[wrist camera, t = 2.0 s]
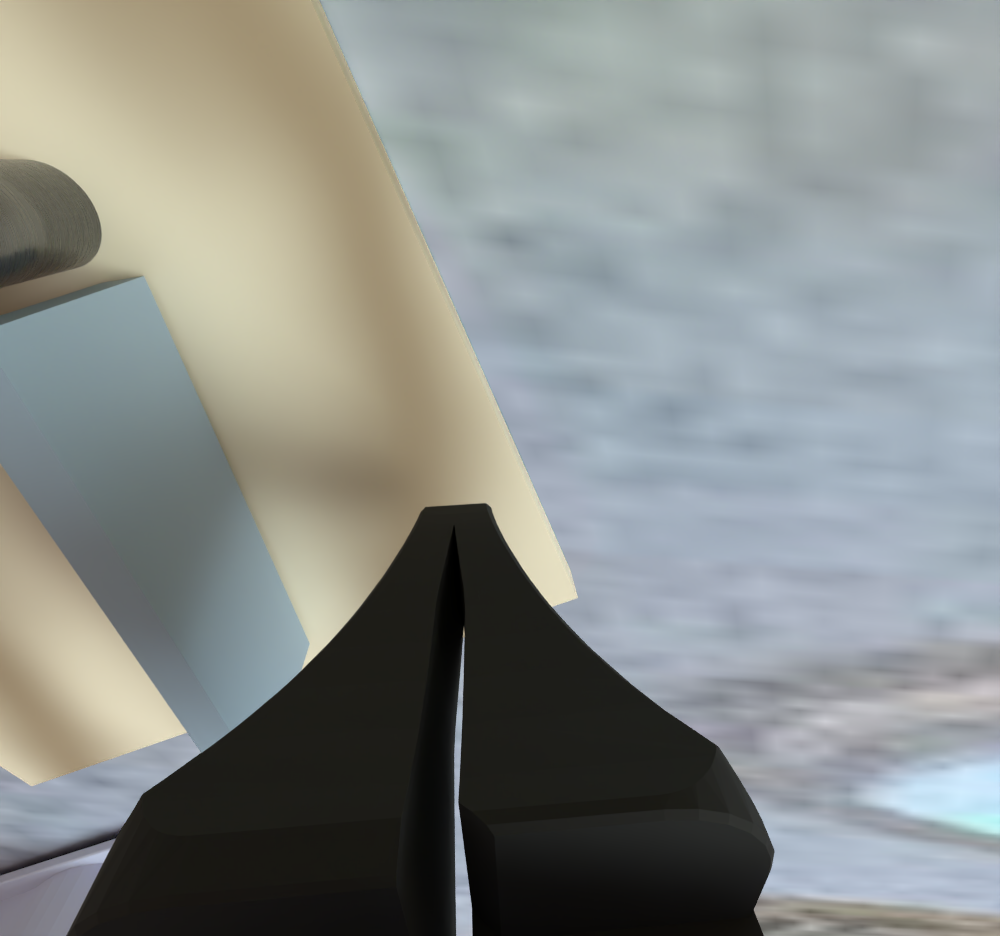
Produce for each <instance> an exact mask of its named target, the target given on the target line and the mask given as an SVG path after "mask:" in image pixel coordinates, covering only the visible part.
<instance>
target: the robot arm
mask: <svg viewBox="0 0 1000 936" xmlns="http://www.w3.org/2000/svg"><path fill="white" fill-rule="evenodd" d="M463 631H464V632H465V647H464V689H463V720H462V743H461V764H460V784H459V802H458V803H459V810H460V818H461V826H462V833H463V841H464V849H465V857H466V864H467V872H468V880H469V887H470V895H471V903H472V927H473V936H764V935H763V933H762V930H761V928H760V925H759V923H758V920H757V918H756V915H755V913H754V907H755V905H756V903H757V900H758V898H759V896H760V894H761V891H762V889H763V887H764V884H765V882H766V880H767V878H768V875H769V873H770V870H771V867H772V862H773V857H774V849H773V846H772V843H771V841H770V838H769V836H768V833H767V831H766V829H765V826H764V824H763V821H762V819H761V817H760V815H759V813H758V811H757V809H756V807H755V805H754V803H753V802H752V800H751V798H750V796H749V795H748V793H747V791H746V790H745V788H744V786H743V785H742V783H741V781H740V780H739V778H738V776H737V775H736V773H735V772H734V770H733V768H732V767H731V765H730V764H729V762H728V761H727V759H726V757H725V756H724V754H723V753H722V751H721V750H720V748H719V747H718V746H717V745H715V744H714V743H712V742H711V741H709V740H708V739H706V738H705V737H703V736H702V735H700V734H699V733H697V732H696V731H695V730H693V729H692V728H690V727H689V726H687V725H686V724H684V723H683V722H681V721H680V720H678V719H677V718H675V717H674V716H672V715H671V714H669V713H668V712H666V711H665V710H664V709H662V708H661V707H660V706H658V705H657V704H656V703H654V702H653V701H652V700H651V699H649V698H648V697H647V696H646V695H644V694H643V693H642V692H640V691H639V690H638V689H637V688H635V687H634V686H633V685H631V684H630V683H629V682H628V681H627V680H626V679H625V678H623V677H622V676H621V675H620V674H619V673H618V672H617V671H616V670H614V669H613V668H612V667H611V666H610V665H609V664H608V663H606V662H605V661H604V660H603V659H602V658H601V657H600V656H599V655H597V654H596V653H595V652H594V651H593V650H592V649H591V648H590V647H589V646H588V645H587V644H586V643H585V642H584V641H583V640H582V639H581V638H580V637H579V636H578V635H577V634H576V633H575V632H574V631H573V630H572V629H571V628H570V627H569V626H568V625H567V624H566V622H565V621H564V620H563V619H562V618H561V617H560V616H559V615H558V614H557V612H556V611H555V610H554V609H553V608H552V607H551V605H550V604H549V603H548V602H547V601H546V599H545V598H544V597H543V596H542V594H541V593H540V592H539V590H538V589H537V588H536V586H535V585H534V584H533V582H532V581H531V580H530V578H529V577H528V575H527V574H526V573H525V571H524V570H523V568H522V567H521V565H520V563H519V562H518V560H517V559H516V557H515V556H514V554H513V552H512V551H511V549H510V548H509V546H508V544H507V542H506V541H505V539H504V537H503V535H502V533H501V531H500V529H499V527H498V525H497V523H496V520H495V518H494V515H493V512H492V508H491V507H490V506H489V505H488V504H486V503H478V504H462V505H447V506H431V507H425V508H424V509H423V510H422V511H421V512H420V514H419V517H418V519H417V521H416V523H415V525H414V527H413V528H412V530H411V532H410V534H409V536H408V537H407V539H406V541H405V542H404V544H403V546H402V548H401V549H400V551H399V552H398V554H397V555H396V557H395V558H394V560H393V562H392V563H391V565H390V566H389V568H388V569H387V571H386V572H385V574H384V575H383V577H382V578H381V579H380V581H379V582H378V583H377V585H376V586H375V587H374V589H373V590H372V592H371V593H370V594H369V596H368V597H367V598H366V600H365V601H364V602H363V604H362V605H361V606H360V607H359V609H358V610H357V611H356V612H355V614H354V615H353V616H352V617H351V618H350V620H349V621H348V622H347V623H346V624H345V625H344V627H343V628H342V629H341V630H340V631H339V632H338V633H337V634H336V635H335V637H334V638H333V639H332V640H331V641H330V642H329V643H328V644H327V645H326V646H325V647H324V648H323V649H322V650H321V651H320V652H319V653H318V654H317V655H316V656H315V657H314V658H313V659H312V660H311V661H310V662H309V663H308V664H307V665H306V666H305V667H304V668H303V669H302V670H301V671H300V672H299V673H298V674H297V675H296V676H295V677H294V678H293V679H292V680H291V681H290V682H289V683H288V684H286V685H285V686H284V687H283V688H282V689H281V690H280V691H279V692H278V693H276V694H275V695H274V696H273V697H272V698H270V699H269V700H268V701H267V702H266V703H264V704H263V705H262V706H261V707H260V708H259V709H257V710H256V711H255V712H254V713H253V714H251V715H250V716H249V717H248V718H247V719H245V720H244V721H243V722H242V723H240V724H239V725H238V726H237V727H235V728H234V729H233V730H232V731H230V732H229V733H228V734H226V735H225V736H224V737H222V738H221V739H220V740H218V741H217V742H216V743H214V744H213V745H212V746H210V747H209V748H207V749H206V750H205V751H203V752H202V753H200V754H199V755H198V756H196V757H195V758H193V759H192V760H191V761H189V762H188V763H186V764H185V765H184V766H182V767H181V768H179V769H178V770H177V771H175V772H174V773H172V774H171V775H170V776H168V777H167V778H165V779H164V780H163V781H161V782H160V783H158V784H157V785H155V786H154V787H152V788H151V789H149V790H148V791H147V792H145V793H144V794H143V795H142V796H141V798H140V800H139V801H138V803H137V805H136V807H135V808H134V810H133V811H132V813H131V815H130V816H129V818H128V819H127V821H126V823H125V824H124V826H123V827H122V829H121V831H120V832H119V834H118V836H117V838H116V839H112V840H109V841H106V842H103V843H100V844H97V845H94V846H91V847H88V848H84V849H81V850H78V851H75V852H72V853H69V854H66V855H63V856H60V857H56V858H53V859H50V860H47V861H44V862H41V863H38V864H35V865H32V866H28V867H25V868H22V869H19V870H16V871H13V872H10V873H7V874H3V875H0V936H456V902H455V819H454V745H455V726H456V714H457V702H458V691H459V679H460V667H461V655H462V643H463Z"/></svg>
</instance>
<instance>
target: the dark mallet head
mask: <svg viewBox="0 0 1000 936" xmlns="http://www.w3.org/2000/svg"><path fill="white" fill-rule="evenodd" d="M101 238H102V231H101V224H100V220H99V217H98V214H97V211H96V209H95V207H94V205H93V203H92V202H91V200H90V198H89V197H88V196H87V194H86V193H85V192H84V190H83V189H82V188H81V187H80V186H79V185H78V184H77V183H76V182H75V181H74V180H73V179H71V178H70V177H69V176H68V175H66V174H65V173H63V172H62V171H60V170H59V169H57V168H55V167H53V166H51V165H48V164H46V163H42V162H39V161H34V160H10V159H0V288H3V287H7V286H11V285H14V284H18V283H22V282H26V281H30V280H34V279H37V278H41V277H45V276H49V275H53V274H56V273H60V272H64V271H68V270H72V269H75V268H79V267H82V266H84V265H86V264H87V263H89V262H90V261H91V260H92V259H93V258H94V257H95V256H96V254H97V253H98V250H99V248H100V244H101Z"/></svg>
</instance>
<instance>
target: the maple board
mask: <svg viewBox="0 0 1000 936" xmlns="http://www.w3.org/2000/svg"><path fill="white" fill-rule="evenodd" d="M0 159H10V160H34V161H39V162H42V163H46V164H48V165H51V166H53V167H55V168H57V169H59V170H60V171H62V172H63V173H65V174H66V175H68V176H69V177H70V178H71V179H73V180H74V181H75V182H76V183H77V184H78V185H79V186H80V187H81V188H82V189H83V190H84V192H85V193H86V194H87V196H88V197H89V198H90V200H91V202H92V203H93V205H94V207H95V209H96V211H97V214H98V217H99V220H100V224H101V231H102V238H101V244H100V248H99V250H98V253H97V254H96V256H95V257H94V258H93V259H92V260H91V261H90V262H89V263H87V264H86V265H84V266H82V267H79V268H75V269H72V270H68V271H64V272H60V273H56V274H53V275H49V276H45V277H41V278H37V279H34V280H30V281H26V282H22V283H18V284H14V285H11V286H7V287H3V288H0V315H3V314H7V313H10V312H13V311H16V310H19V309H22V308H25V307H28V306H31V305H34V304H38V303H41V302H44V301H47V300H50V299H53V298H56V297H59V296H62V295H66V294H69V293H72V292H75V291H78V290H81V289H84V288H87V287H90V286H93V285H97V284H100V283H103V282H109V281H115V280H122V279H128V278H134V277H140V276H144V277H145V279H146V281H147V284H148V286H149V288H150V290H151V292H152V295H153V297H154V299H155V301H156V304H157V306H158V308H159V310H160V312H161V315H162V317H163V319H164V321H165V323H166V326H167V328H168V330H169V332H170V335H171V337H172V339H173V341H174V343H175V346H176V348H177V350H178V352H179V355H180V357H181V359H182V361H183V363H184V366H185V368H186V370H187V372H188V375H189V377H190V379H191V381H192V383H193V386H194V388H195V390H196V392H197V395H198V397H199V399H200V401H201V403H202V406H203V408H204V410H205V412H206V414H207V417H208V419H209V421H210V423H211V426H212V428H213V430H214V432H215V434H216V437H217V439H218V441H219V443H220V446H221V448H222V450H223V452H224V454H225V457H226V459H227V461H228V463H229V466H230V468H231V470H232V472H233V474H234V477H235V479H236V481H237V483H238V485H239V488H240V490H241V492H242V494H243V497H244V499H245V501H246V503H247V505H248V508H249V510H250V512H251V514H252V517H253V519H254V521H255V523H256V525H257V528H258V530H259V532H260V534H261V537H262V539H263V541H264V543H265V545H266V548H267V550H268V552H269V554H270V556H271V559H272V561H273V563H274V565H275V568H276V570H277V572H278V574H279V576H280V579H281V581H282V583H283V585H284V588H285V590H286V592H287V594H288V596H289V599H290V601H291V603H292V605H293V608H294V610H295V612H296V614H297V616H298V619H299V621H300V623H301V625H302V628H303V630H304V632H305V634H306V636H307V639H308V641H309V643H310V645H309V648H308V651H307V654H306V657H305V661H304V664H303V667H302V669H303V668H304V667H305V666H306V665H307V664H308V663H309V662H310V661H311V660H312V659H313V658H314V657H315V656H316V655H317V654H318V653H319V652H320V651H321V650H322V649H323V648H324V647H325V646H326V645H327V644H328V643H329V642H330V641H331V640H332V639H333V638H334V637H335V635H336V634H337V633H338V632H339V631H340V630H341V629H342V628H343V627H344V625H345V624H346V623H347V622H348V621H349V620H350V618H351V617H352V616H353V615H354V614H355V612H356V611H357V610H358V609H359V607H360V606H361V605H362V604H363V602H364V601H365V600H366V598H367V597H368V596H369V594H370V593H371V592H372V590H373V589H374V587H375V586H376V585H377V583H378V582H379V581H380V579H381V578H382V577H383V575H384V574H385V572H386V571H387V569H388V568H389V566H390V565H391V563H392V562H393V560H394V558H395V557H396V555H397V554H398V552H399V551H400V549H401V548H402V546H403V544H404V542H405V541H406V539H407V537H408V536H409V534H410V532H411V530H412V528H413V527H414V525H415V523H416V521H417V519H418V517H419V514H420V512H421V511H422V510H423V509H424V508H425V507H431V506H447V505H462V504H478V503H486V504H488V505H489V506H490V507H491V508H492V512H493V515H494V518H495V520H496V523H497V525H498V527H499V529H500V531H501V533H502V535H503V537H504V539H505V541H506V542H507V544H508V546H509V548H510V549H511V551H512V552H513V554H514V556H515V557H516V559H517V560H518V562H519V563H520V565H521V567H522V568H523V570H524V571H525V573H526V574H527V575H528V577H529V578H530V580H531V581H532V582H533V584H534V585H535V586H536V588H537V589H538V590H539V592H540V593H541V594H542V596H543V597H544V598H545V599H546V601H547V602H548V603H549V604H550V605H551V607H553V606H556V605H559V604H562V603H564V602H567V601H570V600H573V599H576V598H578V596H577V593H576V589H575V585H574V582H573V578H572V575H571V571H570V568H569V566H568V564H567V562H566V559H565V557H564V555H563V552H562V550H561V548H560V546H559V543H558V541H557V539H556V537H555V534H554V532H553V530H552V528H551V525H550V523H549V521H548V518H547V516H546V514H545V512H544V509H543V507H542V505H541V503H540V500H539V498H538V496H537V493H536V491H535V489H534V487H533V484H532V482H531V480H530V478H529V475H528V473H527V471H526V469H525V466H524V464H523V462H522V459H521V457H520V455H519V453H518V450H517V448H516V446H515V444H514V441H513V439H512V437H511V434H510V432H509V430H508V428H507V425H506V423H505V421H504V419H503V416H502V414H501V412H500V409H499V407H498V405H497V403H496V400H495V398H494V396H493V394H492V391H491V389H490V387H489V385H488V382H487V380H486V378H485V375H484V373H483V371H482V369H481V366H480V364H479V362H478V360H477V357H476V355H475V353H474V350H473V348H472V346H471V344H470V341H469V339H468V337H467V335H466V332H465V330H464V328H463V326H462V323H461V321H460V319H459V316H458V314H457V312H456V310H455V307H454V305H453V303H452V301H451V298H450V296H449V294H448V291H447V289H446V287H445V285H444V282H443V280H442V278H441V276H440V273H439V271H438V269H437V267H436V264H435V262H434V260H433V257H432V255H431V253H430V251H429V248H428V246H427V244H426V242H425V239H424V237H423V235H422V232H421V230H420V228H419V226H418V223H417V221H416V219H415V217H414V214H413V212H412V210H411V207H410V205H409V203H408V201H407V198H406V196H405V194H404V192H403V189H402V187H401V185H400V183H399V180H398V178H397V176H396V173H395V171H394V169H393V167H392V164H391V162H390V160H389V158H388V155H387V153H386V151H385V148H384V146H383V144H382V142H381V139H380V137H379V135H378V133H377V130H376V128H375V126H374V124H373V121H372V119H371V117H370V114H369V112H368V110H367V108H366V105H365V103H364V101H363V99H362V96H361V94H360V92H359V89H358V87H357V85H356V83H355V80H354V78H353V76H352V74H351V71H350V69H349V67H348V64H347V62H346V60H345V58H344V55H343V53H342V51H341V49H340V46H339V44H338V42H337V40H336V37H335V35H334V33H333V30H332V28H331V26H330V24H329V21H328V19H327V17H326V15H325V12H324V10H323V8H322V5H321V3H320V1H319V0H0ZM463 637H465V632H464V631H463ZM184 733H187V731H186V730H185V729H184V727H183V726H182V724H181V723H180V721H179V720H178V719H177V717H176V716H175V714H174V713H173V711H172V710H171V708H170V707H169V706H168V704H167V703H166V701H165V700H164V698H163V697H162V695H161V694H160V693H159V691H158V690H157V688H156V687H155V685H154V684H153V683H152V681H151V680H150V678H149V677H148V675H147V674H146V672H145V671H144V670H143V668H142V667H141V665H140V664H139V662H138V661H137V659H136V658H135V657H134V655H133V654H132V652H131V651H130V649H129V648H128V647H127V645H126V644H125V642H124V641H123V639H122V638H121V636H120V635H119V634H118V632H117V631H116V629H115V628H114V626H113V625H112V624H111V622H110V621H109V619H108V618H107V616H106V615H105V613H104V612H103V611H102V609H101V608H100V606H99V605H98V603H97V602H96V600H95V599H94V598H93V596H92V595H91V593H90V592H89V590H88V589H87V588H86V586H85V585H84V583H83V582H82V580H81V579H80V577H79V576H78V575H77V573H76V572H75V570H74V569H73V567H72V566H71V565H70V563H69V562H68V560H67V559H66V557H65V556H64V554H63V553H62V552H61V550H60V549H59V547H58V546H57V544H56V543H55V541H54V540H53V539H52V537H51V536H50V534H49V533H48V531H47V530H46V529H45V527H44V526H43V524H42V523H41V521H40V520H39V518H38V517H37V516H36V514H35V513H34V511H33V510H32V508H31V507H30V505H29V504H28V503H27V501H26V500H25V498H24V497H23V495H22V494H21V493H20V491H19V490H18V488H17V487H16V485H15V484H14V482H13V481H12V480H11V478H10V477H9V475H8V474H7V472H6V471H5V470H4V468H3V467H2V465H1V464H0V766H1V767H3V768H4V769H6V770H7V771H9V772H10V773H12V774H13V775H15V776H17V777H18V778H20V779H21V780H23V781H24V782H26V783H27V784H29V785H30V786H34V785H37V784H39V783H42V782H45V781H48V780H51V779H54V778H57V777H60V776H63V775H66V774H68V773H71V772H74V771H77V770H80V769H83V768H86V767H89V766H92V765H95V764H97V763H100V762H103V761H106V760H109V759H112V758H115V757H118V756H121V755H124V754H126V753H129V752H132V751H135V750H138V749H141V748H144V747H147V746H150V745H153V744H155V743H158V742H161V741H164V740H167V739H170V738H173V737H176V736H179V735H182V734H184Z"/></svg>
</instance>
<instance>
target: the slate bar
mask: <svg viewBox="0 0 1000 936" xmlns="http://www.w3.org/2000/svg"><path fill="white" fill-rule="evenodd" d="M0 464H1V465H2V467H3V468H4V470H5V471H6V472H7V474H8V475H9V477H10V478H11V480H12V481H13V482H14V484H15V485H16V487H17V488H18V490H19V491H20V493H21V494H22V495H23V497H24V498H25V500H26V501H27V503H28V504H29V505H30V507H31V508H32V510H33V511H34V513H35V514H36V516H37V517H38V518H39V520H40V521H41V523H42V524H43V526H44V527H45V529H46V530H47V531H48V533H49V534H50V536H51V537H52V539H53V540H54V541H55V543H56V544H57V546H58V547H59V549H60V550H61V552H62V553H63V554H64V556H65V557H66V559H67V560H68V562H69V563H70V565H71V566H72V567H73V569H74V570H75V572H76V573H77V575H78V576H79V577H80V579H81V580H82V582H83V583H84V585H85V586H86V588H87V589H88V590H89V592H90V593H91V595H92V596H93V598H94V599H95V600H96V602H97V603H98V605H99V606H100V608H101V609H102V611H103V612H104V613H105V615H106V616H107V618H108V619H109V621H110V622H111V624H112V625H113V626H114V628H115V629H116V631H117V632H118V634H119V635H120V636H121V638H122V639H123V641H124V642H125V644H126V645H127V647H128V648H129V649H130V651H131V652H132V654H133V655H134V657H135V658H136V659H137V661H138V662H139V664H140V665H141V667H142V668H143V670H144V671H145V672H146V674H147V675H148V677H149V678H150V680H151V681H152V683H153V684H154V685H155V687H156V688H157V690H158V691H159V693H160V694H161V695H162V697H163V698H164V700H165V701H166V703H167V704H168V706H169V707H170V708H171V710H172V711H173V713H174V714H175V716H176V717H177V719H178V720H179V721H180V723H181V724H182V726H183V727H184V729H185V730H186V731H187V733H188V734H189V736H190V737H191V739H192V740H193V742H194V743H195V744H196V746H197V747H198V749H199V750H200V752H201V753H202V752H203V751H205V750H206V749H207V748H209V747H210V746H212V745H213V744H214V743H216V742H217V741H218V740H220V739H221V738H222V737H224V736H225V735H226V734H228V733H229V732H230V731H232V730H233V729H234V728H235V727H237V726H238V725H239V724H240V723H242V722H243V721H244V720H245V719H247V718H248V717H249V716H250V715H251V714H253V713H254V712H255V711H256V710H257V709H259V708H260V707H261V706H262V705H263V704H264V703H266V702H267V701H268V700H269V699H270V698H272V697H273V696H274V695H275V694H276V693H278V692H279V691H280V690H281V689H282V688H283V687H284V686H285V685H286V684H288V683H289V682H290V681H291V680H292V679H293V678H294V677H295V676H296V675H297V674H298V673H299V672H300V671H301V670H302V667H303V664H304V661H305V657H306V654H307V651H308V648H309V645H310V643H309V641H308V639H307V636H306V634H305V632H304V630H303V628H302V625H301V623H300V621H299V619H298V616H297V614H296V612H295V610H294V608H293V605H292V603H291V601H290V599H289V596H288V594H287V592H286V590H285V588H284V585H283V583H282V581H281V579H280V576H279V574H278V572H277V570H276V568H275V565H274V563H273V561H272V559H271V556H270V554H269V552H268V550H267V548H266V545H265V543H264V541H263V539H262V537H261V534H260V532H259V530H258V528H257V525H256V523H255V521H254V519H253V517H252V514H251V512H250V510H249V508H248V505H247V503H246V501H245V499H244V497H243V494H242V492H241V490H240V488H239V485H238V483H237V481H236V479H235V477H234V474H233V472H232V470H231V468H230V466H229V463H228V461H227V459H226V457H225V454H224V452H223V450H222V448H221V446H220V443H219V441H218V439H217V437H216V434H215V432H214V430H213V428H212V426H211V423H210V421H209V419H208V417H207V414H206V412H205V410H204V408H203V406H202V403H201V401H200V399H199V397H198V395H197V392H196V390H195V388H194V386H193V383H192V381H191V379H190V377H189V375H188V372H187V370H186V368H185V366H184V363H183V361H182V359H181V357H180V355H179V352H178V350H177V348H176V346H175V343H174V341H173V339H172V337H171V335H170V332H169V330H168V328H167V326H166V323H165V321H164V319H163V317H162V315H161V312H160V310H159V308H158V306H157V304H156V301H155V299H154V297H153V295H152V292H151V290H150V288H149V286H148V284H147V281H146V279H145V277H144V276H140V277H134V278H128V279H122V280H115V281H109V282H103V283H100V284H97V285H93V286H90V287H87V288H84V289H81V290H78V291H75V292H72V293H69V294H66V295H62V296H59V297H56V298H53V299H50V300H47V301H44V302H41V303H38V304H34V305H31V306H28V307H25V308H22V309H19V310H16V311H13V312H10V313H7V314H3V315H0Z"/></svg>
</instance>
